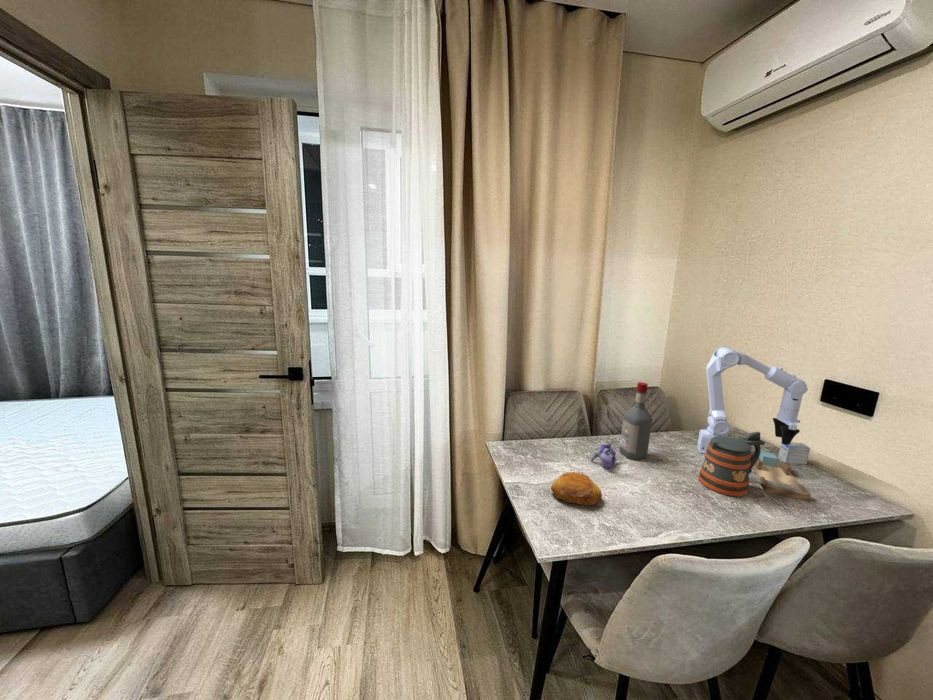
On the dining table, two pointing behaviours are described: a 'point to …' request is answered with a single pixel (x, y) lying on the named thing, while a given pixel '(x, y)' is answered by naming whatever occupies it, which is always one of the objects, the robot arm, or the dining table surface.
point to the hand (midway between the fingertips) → (781, 440)
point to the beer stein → (730, 463)
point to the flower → (606, 456)
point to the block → (768, 459)
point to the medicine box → (794, 453)
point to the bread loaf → (576, 489)
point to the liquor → (636, 427)
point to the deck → (780, 480)
